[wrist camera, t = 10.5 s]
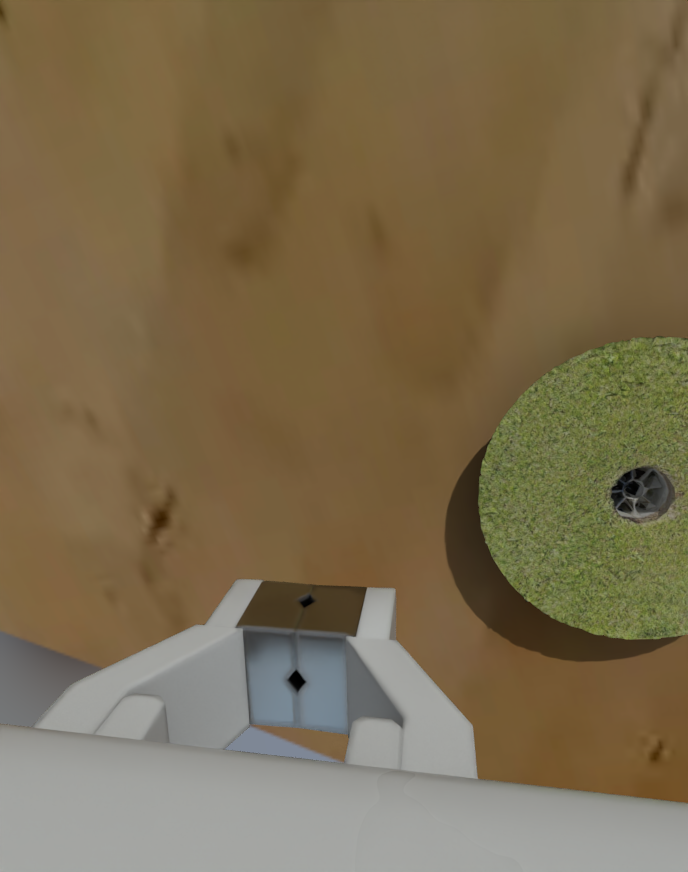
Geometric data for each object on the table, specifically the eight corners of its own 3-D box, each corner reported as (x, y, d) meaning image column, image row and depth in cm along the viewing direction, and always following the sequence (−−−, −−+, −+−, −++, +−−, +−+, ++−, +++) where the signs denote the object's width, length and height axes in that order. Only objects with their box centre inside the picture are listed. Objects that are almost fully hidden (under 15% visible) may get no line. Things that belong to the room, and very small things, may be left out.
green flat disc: (750, 633, 22) (779, 664, 20) (460, 591, 23) (461, 617, 21) (831, 345, 19) (874, 350, 17) (494, 323, 20) (499, 325, 19)
